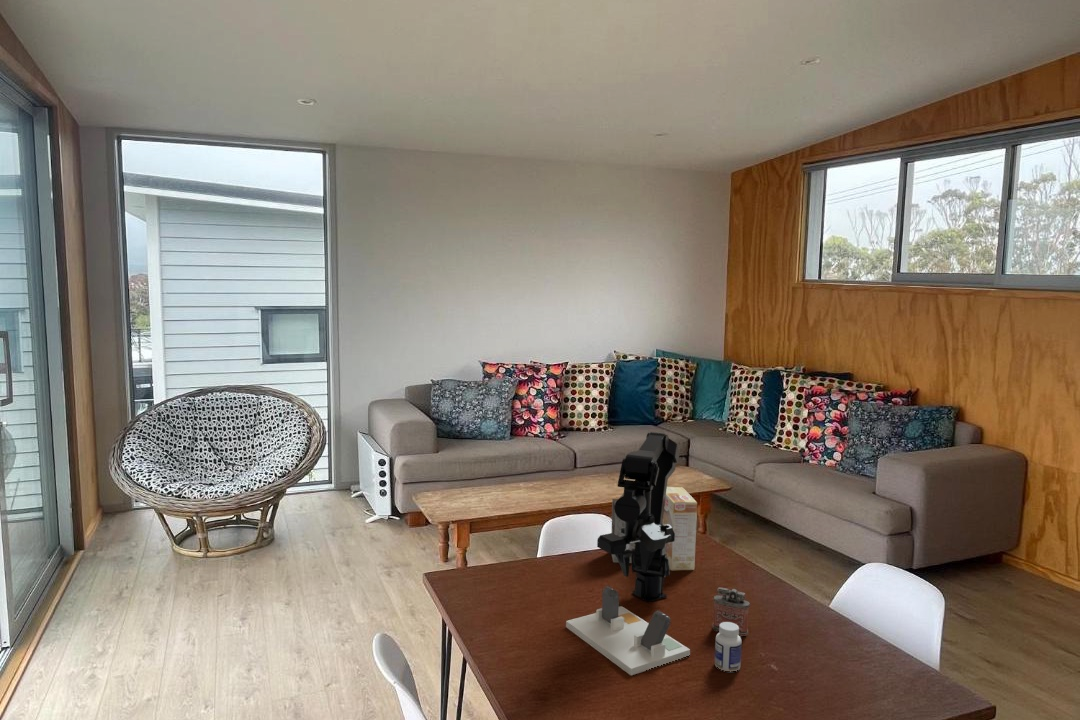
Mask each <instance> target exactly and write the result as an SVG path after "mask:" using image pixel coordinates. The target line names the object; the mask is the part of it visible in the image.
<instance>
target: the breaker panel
mask: <svg viewBox="0 0 1080 720" xmlns="http://www.w3.org/2000/svg"><path fill="white" fill-rule="evenodd" d="M649 620H650V621H649V622H647V621H645V620H644V619H643V618H642V617H639V616H638V615H636V614H635V613H633V612H631V611H630V610H629V609H627V608H625V607H623V606H622V605H621V606H619V610H618V617H617V618H614V619H611V624H610V623H609V622H607V621H606V620H604V619H603V617H602V607H601V608H597V609H596V612H594V613H590V614H588V615H584V616H579V617H576V618H572V619H569V620H565V621H566V622H565V628H567V629H568V630H569V631H570V632H571V633H573V634H575V635H576V636H577V637H579V638H580V639H581V640H583V641H584V642H585V643H586V644H588V645H590V646H591V647H592V648H593V649H594V650H596V651H598V652H599V653H600V654H601V655H603V656H604V657H605V658H607V659H609V661H611V663H613V664H614V665H616V666H618V667H619V668H620V669H621V670H622V671H624V672H626V673H627V674H628V675H629V676H633V675H634V676H635V675H636V674H637V675H638V674H640V673H643V672H646V670H647V671H649V669H650V670H652V669H651V668H653V669H655V668H654V667H656V668H658V667H657V666H659V667H662V666H664V665H663V664H665V665H667V664H666V663H668V664H670V663H669V662H671V663H673V662H672V661H674V662H676V661H675V660H677V661H679V660H678V659H680V660H682V659H681V658H683V657H686V656H689V655H690V656H691V649H690V648H689V647H687V646H686V645H684V644H682V643H680V641H678V640H676V639H674V638H673V637H671V636H670V635H668V634H667V631H668V629H669V627H670V625H671V617H670V616H668V615H667V614H666V613H663V612H662V611H661V610H656V611H654V612H653V613H652V616H651V618H650V619H649ZM690 656H689V657H690ZM686 658H687V657H686ZM683 659H684V658H683ZM661 665H662V666H661Z"/></svg>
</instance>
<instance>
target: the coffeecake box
mask: <svg viewBox="0 0 1080 720" xmlns="http://www.w3.org/2000/svg"><path fill="white" fill-rule="evenodd" d="M697 511H698V502H697V501H696V500H695V498H694V497H692V495H690V493H689V492H688V491H687V490H686V489H685V488H684V487H682V486H667V489H666V498H665V506H664V514H663V522H662V524H663V525H667V524H669V525H670V526H671V527H672V529H673V531H674V533H675V541H674V542H669V543H666V544H665V547H666V552H665V554H667V557H668V560H669V566H670V571H694V570H695V563H696V562H695V561H696V559H695V558H696V538H697V515H698V514H697Z"/></svg>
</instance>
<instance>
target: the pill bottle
mask: <svg viewBox="0 0 1080 720" xmlns="http://www.w3.org/2000/svg"><path fill="white" fill-rule="evenodd" d="M738 634H739V626H738V625H737V624H735V623H732V622H722V623H720V625H719V632H718V633H717V634H716V636H715V640H714V641H715V643H714V644H715V645H714V665H715V666H714V667H716V668H717V667H718V668H719V669H721V670H720V671H722V670H724V671H723V672H725V671H730V672H729V673H732V672H731V671H736V672H738V671H740V669H741V664H742V663H741V662H742V637H741V636H739V635H738ZM718 668H717V669H718ZM719 669H718V670H719ZM737 670H738V671H737Z"/></svg>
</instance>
